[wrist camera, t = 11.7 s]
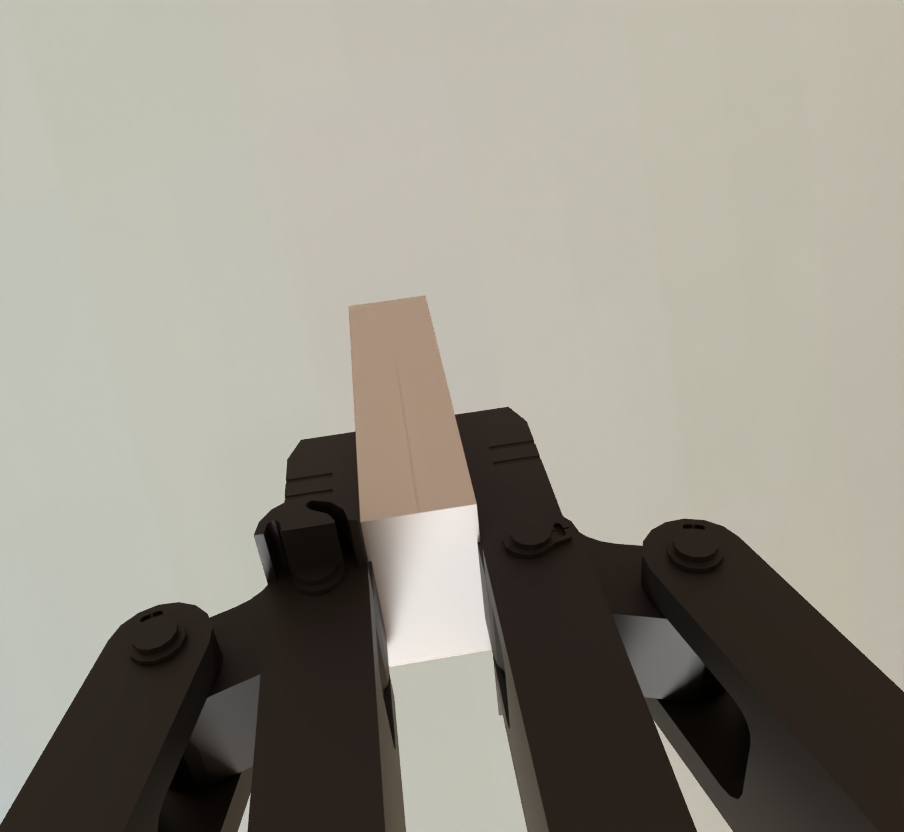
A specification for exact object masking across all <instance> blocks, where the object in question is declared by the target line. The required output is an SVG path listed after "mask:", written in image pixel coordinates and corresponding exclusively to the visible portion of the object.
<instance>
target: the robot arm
mask: <svg viewBox="0 0 904 832" xmlns="http://www.w3.org/2000/svg"><path fill="white" fill-rule="evenodd" d="M349 321H350V339H351V357H352V376H353V394H354V413H355V431H356V432H351V433H344V434H337V435H331V436H324V437H317V438H311V439H304V440H301V441H300V442H299V444H298V445H297V447H296V448H295V449H294V451H293V452H292V454H291V455H290V457H289V458H288V459H287V473H286V482H287V484H286V488H285V502H284V503H283V504H281V505H279V506H277V507H276V508H274V509H272V510H271V511H270V512H269V513H268V514H267V515H266V516H265V517H264V518H263V519H262V520H261V521H260V522H259V524H258V526H257V529H256V531H255V534H254V538H255V541H256V545H257V548H258V552H259V555H260V558H261V562H262V565H263V569H264V572H265V575H266V579H267V582H268V585H267V586H266V587H265V589H264V590H263V591H261V592H260V593H259V594H257V595H256V596H255V597H253V598H252V599H251V600H249V601H247V602H245V603H243V604H241V605H239V606H237V607H235V608H232V609H230V610H227V611H225V612H222V613H220V614H218V615H215V616H213V617H210V618H209V617H208V614H207V613H206V612H204V611H203V610H201V609H200V608H199V607H197V606H196V605H191V604H185V603H180V602H177V603H169V604H162V605H157V606H155V607H152V608H150V609H147V610H145V611H142V612H140V613H138V614H136V615H135V616H134V617H132V618H131V619H129V620H128V621H126V622H125V623H124V624H122V625H121V626H120V627H119V628H118V629H117V631H116V632H115V633H114V634H113V636H112V637H111V638H110V639H109V640H108V642H107V644H106V645H105V647H104V649H103V650H102V652H101V654H100V656H99V657H98V659H97V661H96V662H95V664H94V666H93V668H92V669H91V671H90V673H89V674H88V676H87V678H86V679H85V681H84V683H83V685H82V686H81V688H80V690H79V691H78V693H77V695H76V697H75V698H74V700H73V702H72V703H71V705H70V707H69V709H68V710H67V712H66V714H65V715H64V717H63V719H62V720H61V722H60V724H59V726H58V727H57V729H56V731H55V732H54V734H53V736H52V738H51V739H50V741H49V743H48V744H47V746H46V748H45V750H44V751H43V753H42V755H41V756H40V758H39V760H38V761H37V763H36V765H35V767H34V768H33V770H32V772H31V773H30V775H29V777H28V779H27V780H26V782H25V784H24V785H23V787H22V789H21V791H20V792H19V794H18V796H17V797H16V799H15V801H14V802H13V804H12V806H11V808H10V809H9V811H8V813H7V814H6V816H5V818H4V820H3V821H2V823H1V825H0V832H238V829H239V826H240V823H241V820H242V817H243V814H244V811H245V808H246V805H247V802H248V799H249V796H250V793H251V797H250V809H249V822H248V832H406V826H405V815H404V804H403V792H402V781H401V769H400V758H399V747H398V735H397V724H396V712H395V701H394V694H393V689H392V684H391V679H390V674H389V667H391V666H397V665H403V664H409V663H415V662H421V661H427V660H433V659H439V658H445V657H451V656H457V655H463V654H469V653H475V652H481V651H487V650H491V648H492V652H493V659H494V669H495V680H496V690H497V700H498V710H499V715H503V718H504V722H505V727H506V732H507V737H508V741H509V746H510V751H511V756H512V760H513V765H514V770H515V774H516V779H517V784H518V789H519V793H520V798H521V803H522V808H523V812H524V817H525V822H526V826H527V831H528V832H697V830H696V828H695V825H694V823H693V820H692V818H691V815H690V813H689V810H688V807H687V805H686V802H685V800H684V797H683V795H682V792H681V790H680V787H679V785H678V782H677V779H676V777H675V774H674V772H673V769H672V767H671V764H670V762H669V759H668V756H667V754H666V751H665V749H664V746H663V744H662V741H661V739H660V736H659V734H658V731H657V728H656V726H655V723H654V721H655V722H656V724H657V725H658V727H659V728H660V729H661V731H662V732H663V734H664V735H665V736H666V738H667V739H668V741H669V742H670V743H671V745H672V746H673V748H674V749H675V750H676V752H677V753H678V755H679V756H680V757H681V759H682V760H683V762H684V763H685V764H686V766H687V767H688V769H689V770H690V771H691V773H692V774H693V776H694V777H695V778H696V780H697V781H698V783H699V784H700V785H701V787H702V788H703V790H704V791H705V792H706V794H707V795H708V797H709V798H710V799H711V801H712V802H713V804H714V805H715V806H716V808H717V809H718V811H719V812H720V813H721V815H722V816H723V818H724V819H725V820H726V822H727V823H728V825H729V826H730V828H731V829H732V830H733V832H904V692H903V691H902V690H901V689H900V688H899V687H898V686H897V685H896V684H895V683H894V682H893V681H891V680H890V679H889V678H888V677H887V676H886V675H885V674H884V673H883V672H882V671H881V670H880V669H879V668H878V667H877V666H876V665H874V664H873V663H872V662H871V661H870V660H869V659H868V658H867V657H866V656H865V655H864V654H863V653H862V652H861V651H860V650H859V649H857V648H856V647H855V646H854V645H853V644H852V643H851V642H850V641H849V640H848V639H847V638H846V637H845V636H844V635H843V634H842V633H840V632H839V631H838V630H837V629H836V628H835V627H834V626H833V625H832V624H831V623H830V622H829V621H828V620H827V619H826V618H825V617H823V616H822V615H821V614H820V613H819V612H818V611H817V610H816V609H815V608H814V607H813V606H812V605H811V604H810V603H809V602H808V601H806V600H805V599H804V598H803V597H802V596H801V595H800V594H799V593H798V592H797V591H796V590H795V589H794V588H793V587H792V586H791V585H789V584H788V583H787V582H786V581H785V580H784V579H783V578H782V577H781V576H780V575H779V574H778V573H777V572H776V571H775V570H774V569H772V568H771V567H770V566H769V565H768V564H767V563H766V562H765V561H764V560H763V559H762V558H761V557H760V556H759V555H758V554H756V553H755V552H754V551H753V550H752V549H751V548H750V547H749V546H748V545H747V544H746V543H745V542H744V541H743V540H742V539H741V538H739V537H738V536H737V535H735V534H734V533H732V532H731V531H729V530H728V529H726V528H725V527H723V526H721V525H717V524H714V523H711V522H708V521H705V520H694V519H680V520H675V521H670V522H665V523H663V524H662V525H660V526H658V527H656V528H654V529H653V530H651V531H650V533H649V534H648V536H647V537H646V538H645V540H644V541H643V546H637V545H624V544H614V543H607V542H601V541H598V540H595V539H592V538H589V537H586V536H585V535H583V534H581V533H579V531H578V530H577V528H576V527H575V526H574V524H573V523H572V522H571V521H570V520H568V519H566V518H565V517H563V515H562V513H561V511H560V508H559V505H558V503H557V500H556V497H555V495H554V492H553V490H552V487H551V484H550V482H549V479H548V476H547V474H546V471H545V468H544V466H543V463H542V461H541V459H540V456H539V453H538V450H537V447H536V445H535V444H534V440H533V437H532V434H531V432H530V429H529V426H528V424H527V421H525V420H524V419H523V418H522V417H520V416H519V415H518V414H517V413H515V412H514V411H513V410H512V409H510V408H509V407H504V408H497V409H491V410H484V411H477V412H471V413H464V414H457V415H455V414H454V410H453V406H452V402H451V398H450V394H449V390H448V386H447V382H446V378H445V373H444V369H443V365H442V361H441V357H440V353H439V349H438V345H437V341H436V337H435V333H434V329H433V325H432V321H431V317H430V313H429V309H428V305H427V300H426V296H419V297H412V298H405V299H398V300H391V301H384V302H377V303H370V304H363V305H355V306H349ZM653 719H654V721H653Z"/></svg>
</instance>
